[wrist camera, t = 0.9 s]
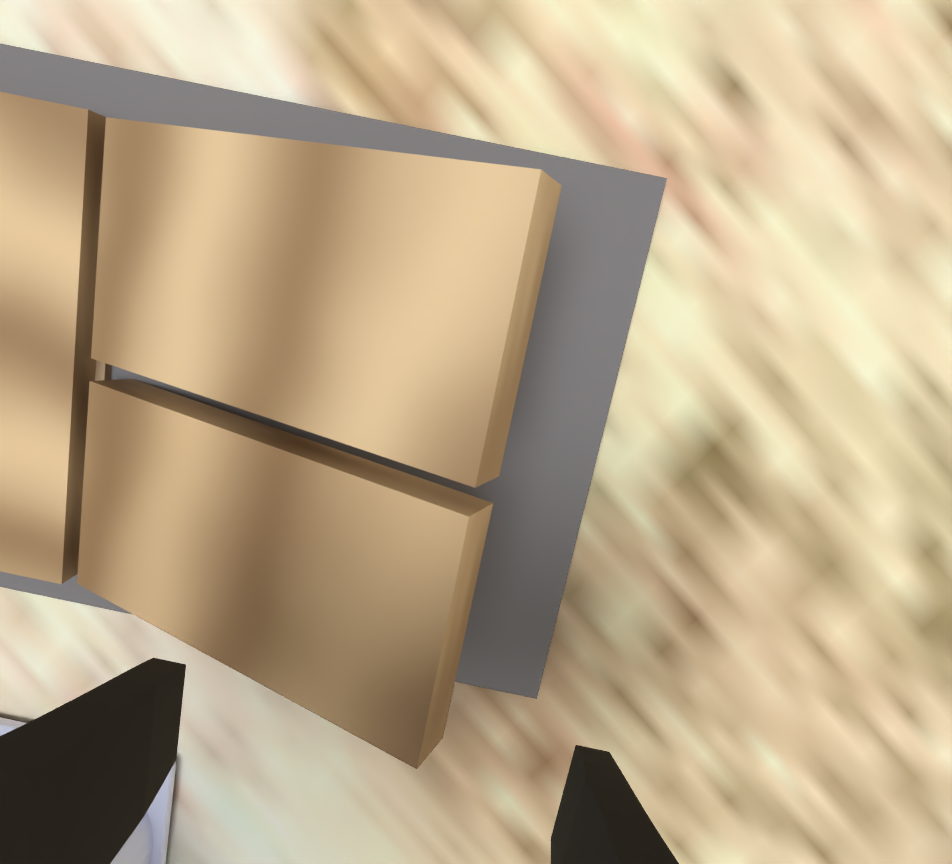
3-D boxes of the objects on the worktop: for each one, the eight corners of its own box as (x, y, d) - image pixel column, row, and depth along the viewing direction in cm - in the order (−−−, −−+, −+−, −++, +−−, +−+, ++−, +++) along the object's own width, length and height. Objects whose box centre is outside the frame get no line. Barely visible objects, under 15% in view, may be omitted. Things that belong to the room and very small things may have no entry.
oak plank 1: (133, 357, 20) (90, 358, 19) (150, 132, 19) (106, 117, 17) (498, 476, 15) (475, 487, 14) (561, 185, 14) (540, 169, 13)
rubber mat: (535, 691, 23) (536, 698, 22) (-117, 555, 23) (-128, 559, 22) (663, 180, 19) (666, 178, 18) (-124, 21, 19) (-138, 16, 18)
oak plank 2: (116, 569, 22) (77, 583, 21) (131, 378, 20) (89, 380, 19) (442, 737, 17) (416, 769, 16) (493, 503, 16) (468, 516, 14)
